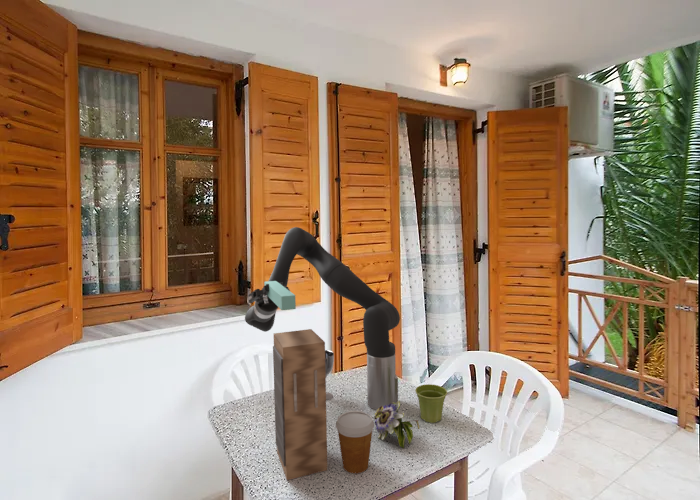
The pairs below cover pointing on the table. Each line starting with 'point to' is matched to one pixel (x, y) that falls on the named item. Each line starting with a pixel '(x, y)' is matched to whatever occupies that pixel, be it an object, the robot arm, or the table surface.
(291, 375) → the tall wooden pillar block
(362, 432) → the disposable coffee cup
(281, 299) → the rail
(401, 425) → the passion flower
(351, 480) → the table surface
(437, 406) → the plant pot
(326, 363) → the wine glass
